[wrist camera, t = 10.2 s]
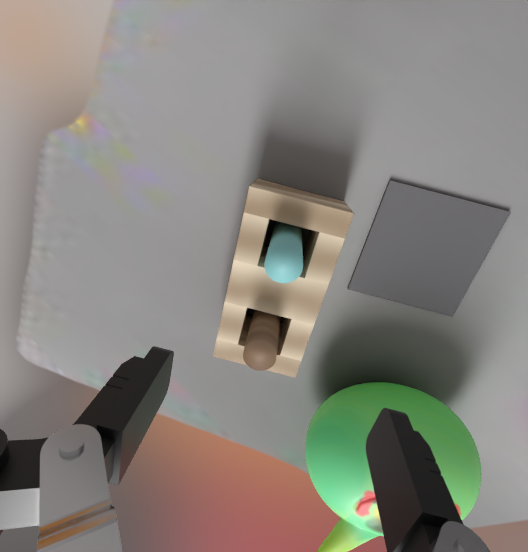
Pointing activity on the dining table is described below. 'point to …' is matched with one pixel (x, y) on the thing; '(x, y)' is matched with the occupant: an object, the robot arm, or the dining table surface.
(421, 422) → the toy bird
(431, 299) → the mat
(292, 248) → the teal peg
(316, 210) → the hole block
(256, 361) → the walnut peg
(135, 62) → the dining table surface
